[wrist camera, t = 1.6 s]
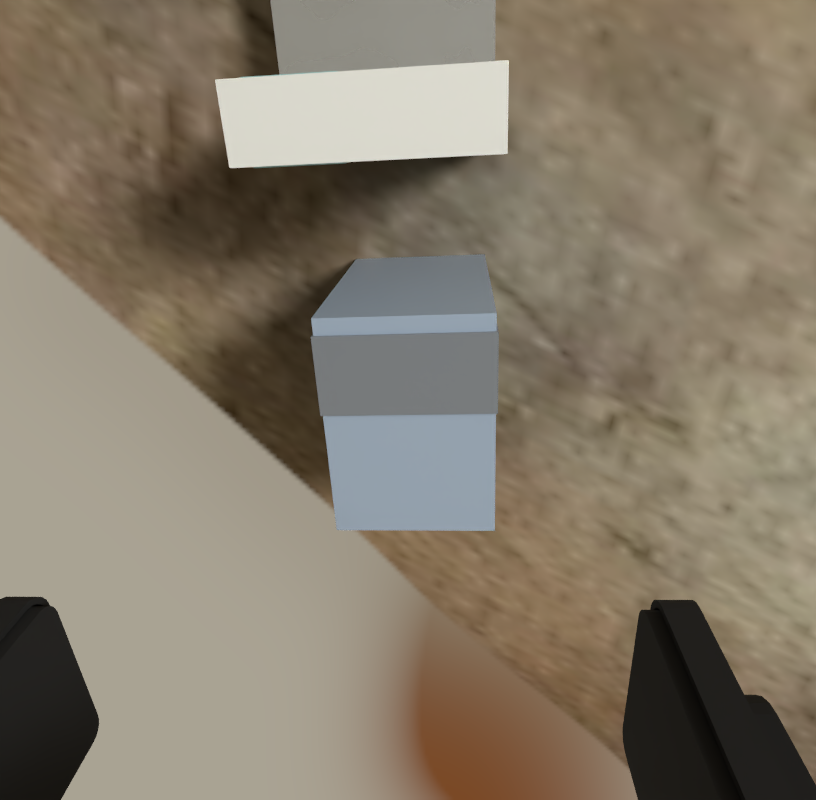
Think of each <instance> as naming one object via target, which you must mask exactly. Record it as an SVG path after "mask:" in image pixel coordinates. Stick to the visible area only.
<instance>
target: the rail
mask: <svg viewBox="0 0 816 800" xmlns="http://www.w3.org/2000/svg"><path fill="white" fill-rule="evenodd" d="M270 2H271V10H272V18H273V26H274V34H275V42H276V50H277V58H278V67H279V75H280V74H295V73H310V72H325V71H353V70H368V69H383V68H398V67H413V66H428V65H444V64H459V63H474V62H489V61H495V0H270Z"/></svg>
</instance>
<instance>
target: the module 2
mask: <svg viewBox="0 0 816 800" xmlns="http://www.w3.org/2000/svg"><path fill="white" fill-rule="evenodd" d="M311 322H312V330H313V335H312V336H311V344H312V352H313V361H314V369H315V377H316V385H317V393H318V401H319V409H320V416H323V421H324V429H325V437H326V445H327V453H328V462H329V470H330V478H331V486H332V494H333V503H334V511H335V519H336V527H337V530H462V531H495V443H496V414H498V343H499V332H498V327H497V312H496V307H495V303H494V298H493V293H492V288H491V283H490V278H489V273H488V268H487V263H486V259H485V254H482V255H455V256H428V257H401V258H374V259H356V260H355V261H354V263H353V264H352V265H351V266H350V268H349V269H348V270H347V272H346V273H345V274H344V276H343V277H342V278H341V280H340V281H339V282H338V284H337V285H336V286H335V288H334V289H333V290H332V292H331V293H330V294H329V295H328V297H327V298H326V299H325V301H324V302H323V303H322V305H321V306H320V307H319V309H318V310H317V311H316V313H315V314H314V315H313V317H312V318H311Z"/></svg>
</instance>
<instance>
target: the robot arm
mask: <svg viewBox="0 0 816 800" xmlns="http://www.w3.org/2000/svg"><path fill="white" fill-rule="evenodd" d="M98 726H99V718H98V714H97V712H96V709H95V707H94V704H93V701H92V699H91V696H90V694H89V691H88V689H87V686H86V684H85V681H84V678H83V676H82V673H81V671H80V668H79V666H78V663H77V661H76V658H75V655H74V653H73V650H72V648H71V645H70V643H69V640H68V638H67V635H66V633H65V630H64V628H63V625H62V622H61V620H60V618H59V615H58V612H57V611H56V609H55V608H54V607H52V606H50V605H49V603H48V602H47V600H46V599H44V598H42V597H5V598H2V599H0V800H61V798H62V797H63V795H64V793H65V791H66V789H67V788H68V786H69V784H70V782H71V781H72V779H73V777H74V775H75V774H76V772H77V770H78V768H79V767H80V765H81V763H82V761H83V760H84V758H85V756H86V754H87V753H88V751H89V749H90V747H91V746H92V744H93V742H94V739H95V738H96V735H97V731H98ZM623 743H624V749H625V753H626V757H627V761H628V765H629V768H630V772H631V776H632V779H633V783H634V786H635V790H636V793H637V797H638V800H816V785H815V783H814V781H813V779H812V777H811V776H810V774H809V772H808V770H807V768H806V766H805V765H804V763H803V761H802V759H801V757H800V756H799V754H798V752H797V750H796V748H795V746H794V745H793V743H792V741H791V739H790V737H789V735H788V734H787V732H786V730H785V728H784V726H783V724H782V723H781V721H780V719H779V717H778V715H777V714H776V712H775V711H774V709H773V708H772V706H771V705H770V703H769V702H768V701H767V700H765V699H764V698H763V697H762V696H758V695H744V694H743V692H742V690H741V688H740V686H739V684H738V682H737V680H736V678H735V676H734V674H733V672H732V670H731V668H730V666H729V664H728V662H727V660H726V658H725V656H724V654H723V652H722V650H721V648H720V647H719V645H718V643H717V641H716V639H715V637H714V635H713V633H712V631H711V629H710V627H709V625H708V623H707V621H706V619H705V617H704V615H703V613H702V611H701V609H700V607H699V606H698V604H697V603H696V602H695V601H693V600H654V601H653V602H652V605H651V609H650V610H641V611H640V613H639V618H638V625H637V632H636V639H635V646H634V653H633V660H632V667H631V674H630V681H629V688H628V695H627V702H626V708H625V715H624V722H623Z"/></svg>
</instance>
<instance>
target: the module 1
mask: <svg viewBox="0 0 816 800" xmlns="http://www.w3.org/2000/svg"><path fill="white" fill-rule="evenodd" d="M215 82H216V89H217V95H218V101H219V107H220V113H221V119H222V126H223V132H224V138H225V144H226V150H227V156H228V163H229V168H244V167H254V168H270V167H289V166H309V165H328V164H345V163H348V162H360V161H379V160H398V159H417V158H437V157H456V156H475V155H494V154H507V149H508V82H509V60H504V61H489V62H474V63H459V64H444V65H428V66H413V67H398V68H383V69H368V70H353V71H325V72H310V73H295V74H280V75H265V76H249V77H240V78H232V79H217V80H215Z"/></svg>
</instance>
